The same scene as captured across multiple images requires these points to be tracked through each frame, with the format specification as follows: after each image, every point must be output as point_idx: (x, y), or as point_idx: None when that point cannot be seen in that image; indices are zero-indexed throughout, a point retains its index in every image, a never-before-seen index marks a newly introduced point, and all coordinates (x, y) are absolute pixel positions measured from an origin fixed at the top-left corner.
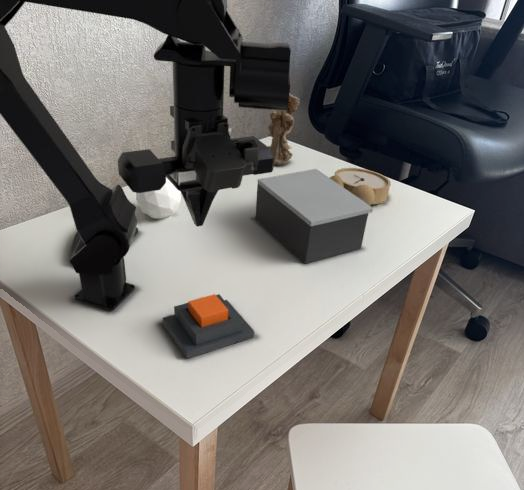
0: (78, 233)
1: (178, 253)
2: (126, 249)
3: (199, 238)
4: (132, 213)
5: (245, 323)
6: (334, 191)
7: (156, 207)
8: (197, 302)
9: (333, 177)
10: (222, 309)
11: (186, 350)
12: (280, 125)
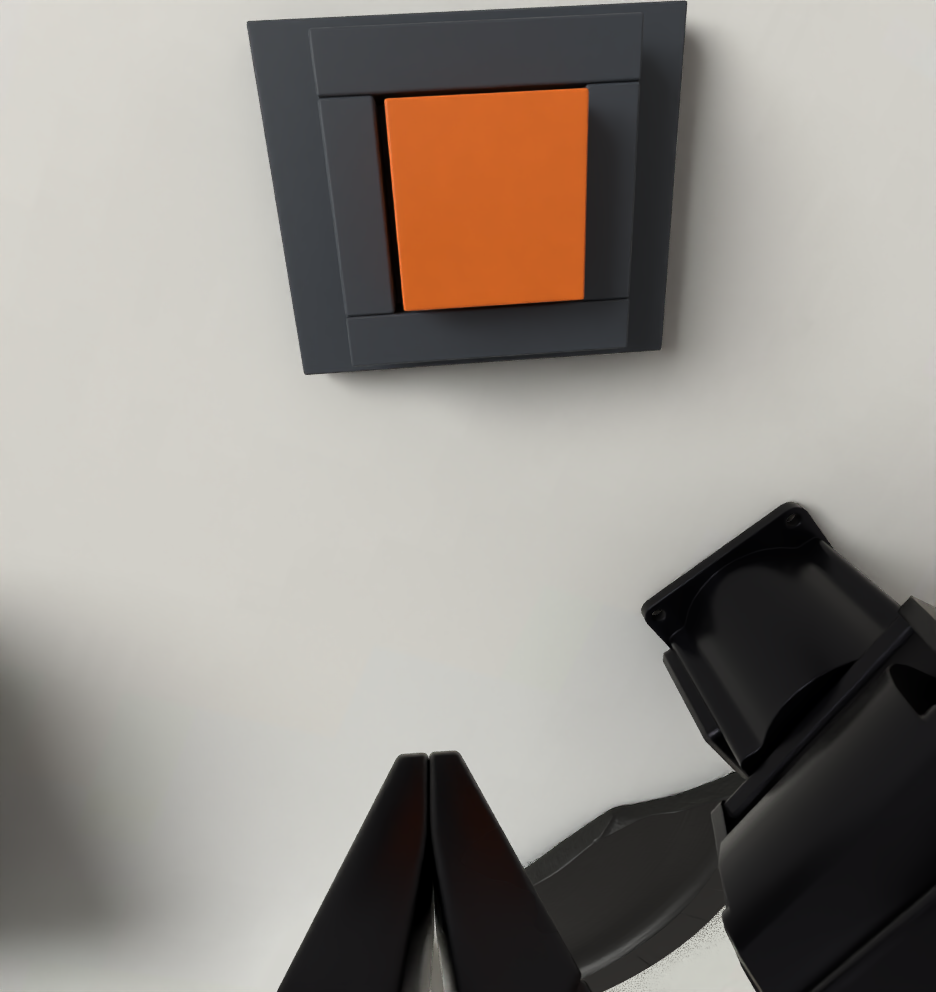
0: (697, 923)
1: (382, 765)
2: (910, 698)
3: (264, 829)
4: (860, 984)
5: (274, 121)
6: None
7: None
8: (540, 263)
9: None
10: (421, 122)
11: (683, 18)
12: None
